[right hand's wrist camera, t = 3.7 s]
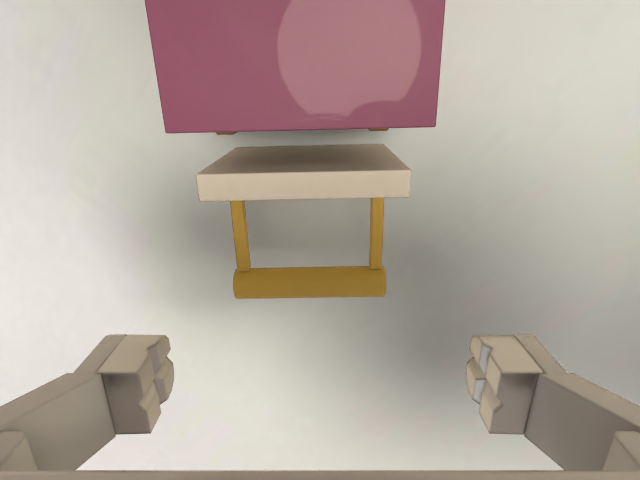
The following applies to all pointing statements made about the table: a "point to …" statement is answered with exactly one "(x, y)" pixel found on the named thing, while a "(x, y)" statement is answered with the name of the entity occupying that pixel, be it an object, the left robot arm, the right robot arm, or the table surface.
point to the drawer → (306, 183)
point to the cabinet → (296, 63)
